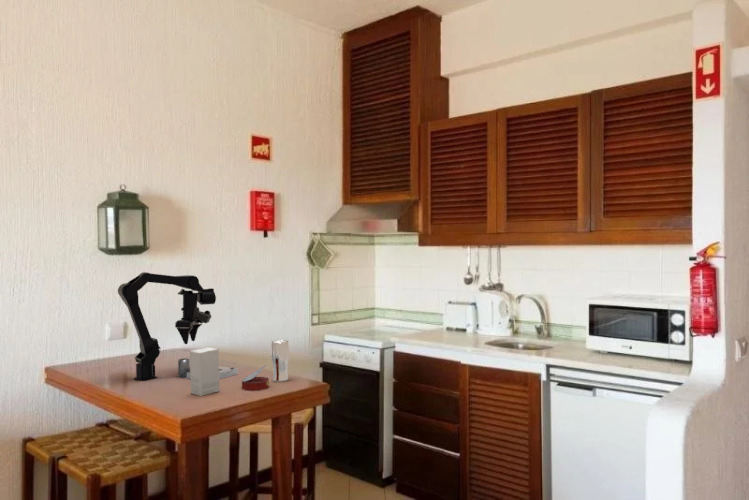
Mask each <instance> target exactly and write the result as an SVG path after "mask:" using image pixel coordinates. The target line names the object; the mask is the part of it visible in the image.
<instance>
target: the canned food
mask: <svg viewBox="0 0 749 500" xmlns="http://www.w3.org/2000/svg"><path fill="white" fill-rule="evenodd" d="M265 367H266V364H264V365H263V366H262V367H260V368H259V369H257V370H255V371H254V372H252V373H250V374H248V375H247V376H246V377H244V378H243V379H242V380H241V389H242V390H244V391H262V389H263V390H266V389H268V388H270V387H269V386H270V381H269V378H268V377H266V376H258V375H260V373H261V372H262V370H263V369H264V368H265Z"/></svg>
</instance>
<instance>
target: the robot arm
mask: <svg viewBox="0 0 749 500" xmlns="http://www.w3.org/2000/svg"><path fill="white" fill-rule="evenodd" d="M147 283H155V284H162V285H163V284H164V285H173V286H176V287H179V288H181V290H179V292H177V295H181V296H182V307H181V309H180V310H181V311H182V317H181V318H180V319H178V320H176V321H175V323H174V324H175V325H174V327H175V328H176V330H177V331H178V333H179V335H180V338H181V339H182V341H183V344H185V345H188V343H189V339H191V340H190V341H191V342H195V340H196V338H197V333H198V329H199V328H200V327H201V326H202V325H203V324H208V323H209V322H210V320H211V319H212V314H211V311H210V310H205V311H201V310H200V307H199V306H198V303H199V305H201V306H202V305H205V306H206V305H215V303H216V302H217V296H216V293H215V289H214V288H203V286H202V285H201V283H200V280H199V278H198V277H197V276H196V275H190V274H187V275H176V276H175V275H166V274H161V273H160V274H159V273H150V272H146V271H143V272H141V273H139V274H138V275H137V276H136V277H133V278H132V279H130V280H128V282H126V283H122V284H120V285H119V286H118V288H117V293H118V295H119V297H120V299H121V300H122V302H123V303H124V304H125V306H126V307H127V310H128V313H129V316H130V318H131V320H132V323H133V325H134V328H135V331H136V333H137V337H138V339H139V350H140V352H138V353H137V354H136V356H135V357H134V360H135V362H136V364H135V377H133V380H138V381H147V380H152V379H157V378H158V376H157V375H156V365H155V363H156V360H157V358H159V355H160V353H161V349H162V348H161V347H160V345H159V341H158V339H157V338H155V337H152V336H151V334H150V332H149V328H148V326H147V323H146V321H145V318H144V315H143V313H142V310H141V307H140V304H139V293H138V292H139V291H140V290H141V289H143V288H144V286H145V285H146V284H147ZM185 289H187V290H185Z"/></svg>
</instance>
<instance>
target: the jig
mask: <svg viewBox="0 0 749 500" xmlns="http://www.w3.org/2000/svg"><path fill="white" fill-rule="evenodd" d="M238 374H239V370H238V367H231V366H230V367H229V366H221V365H219V380H221V379H224V378H228V377H232V376H235V375H238ZM186 379H188V380H191V372H187V378H186Z"/></svg>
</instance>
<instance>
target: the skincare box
mask: <svg viewBox="0 0 749 500" xmlns="http://www.w3.org/2000/svg"><path fill="white" fill-rule="evenodd" d="M219 350H220V349H219V348H215V347H211V346H210V347H209V346H207V347H204V348H198V349H197V348H196V349H193V350H189V359H190V372H191V379H190V394H191V395H196V396H199V397H202V396H206V395H210V394H214V393H217V392H218V393H219V392H220V379H219V366H220V364H219V363H220V361H219V359H220V358H219Z"/></svg>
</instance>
